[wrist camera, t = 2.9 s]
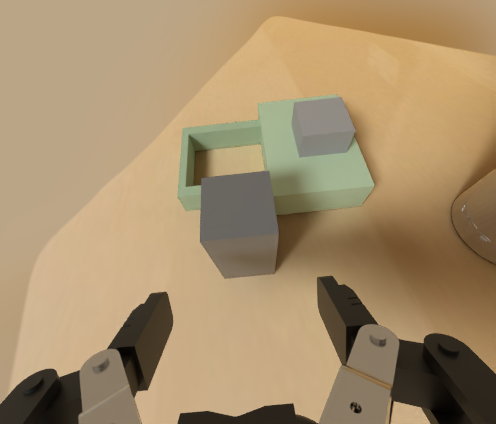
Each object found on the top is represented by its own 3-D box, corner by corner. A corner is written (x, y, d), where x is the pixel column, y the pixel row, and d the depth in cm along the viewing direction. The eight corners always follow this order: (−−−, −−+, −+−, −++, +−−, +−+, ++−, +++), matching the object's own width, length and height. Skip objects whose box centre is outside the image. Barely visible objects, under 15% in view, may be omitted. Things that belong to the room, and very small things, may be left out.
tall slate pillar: (268, 228, 26) (269, 170, 17) (274, 273, 24) (279, 233, 15) (223, 232, 26) (201, 178, 17) (224, 278, 24) (199, 241, 15)
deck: (329, 120, 33) (344, 70, 27) (360, 206, 26) (388, 165, 20) (190, 135, 34) (172, 90, 28) (185, 224, 27) (161, 189, 21)
